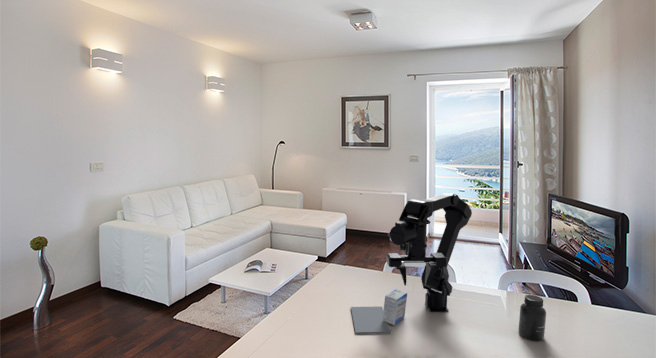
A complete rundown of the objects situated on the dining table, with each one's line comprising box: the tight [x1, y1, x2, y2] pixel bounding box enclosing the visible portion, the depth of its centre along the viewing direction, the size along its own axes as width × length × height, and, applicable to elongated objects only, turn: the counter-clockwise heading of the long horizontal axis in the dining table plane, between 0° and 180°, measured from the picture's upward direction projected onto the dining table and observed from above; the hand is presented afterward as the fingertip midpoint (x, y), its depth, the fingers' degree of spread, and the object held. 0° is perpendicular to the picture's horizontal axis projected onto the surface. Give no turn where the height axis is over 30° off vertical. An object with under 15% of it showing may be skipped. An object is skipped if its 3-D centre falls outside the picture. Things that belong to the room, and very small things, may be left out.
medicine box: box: [383, 288, 408, 326], centre depth 114 cm, size 8×4×9 cm, turn 143°
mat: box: [350, 306, 392, 335], centre depth 114 cm, size 11×16×1 cm
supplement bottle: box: [518, 294, 547, 342], centre depth 105 cm, size 7×7×12 cm
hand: (415, 285), depth 113 cm, fingers open, 7 cm apart
